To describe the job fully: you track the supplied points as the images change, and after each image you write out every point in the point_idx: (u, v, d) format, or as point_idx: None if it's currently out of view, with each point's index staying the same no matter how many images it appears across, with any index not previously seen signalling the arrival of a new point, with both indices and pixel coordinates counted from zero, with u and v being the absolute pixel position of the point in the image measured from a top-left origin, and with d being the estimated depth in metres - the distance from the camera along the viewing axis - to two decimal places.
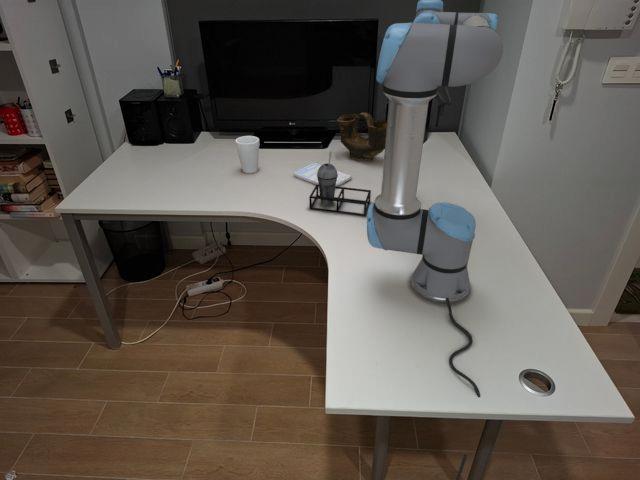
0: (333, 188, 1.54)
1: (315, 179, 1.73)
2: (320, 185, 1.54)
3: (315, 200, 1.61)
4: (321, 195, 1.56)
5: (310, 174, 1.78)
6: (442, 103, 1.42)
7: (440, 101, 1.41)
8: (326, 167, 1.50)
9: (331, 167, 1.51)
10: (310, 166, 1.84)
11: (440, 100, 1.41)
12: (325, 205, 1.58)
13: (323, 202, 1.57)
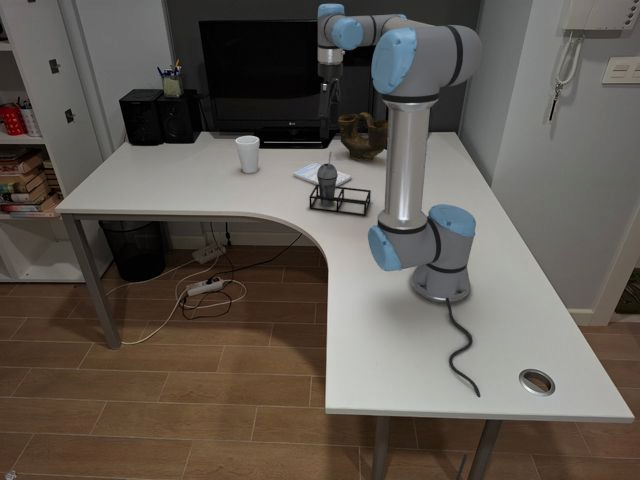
0: (333, 188, 1.54)
1: (315, 179, 1.73)
2: (320, 185, 1.54)
3: (315, 200, 1.61)
4: (321, 195, 1.56)
5: (310, 174, 1.78)
6: None
7: None
8: (326, 167, 1.50)
9: (331, 167, 1.51)
10: (310, 166, 1.84)
11: None
12: (325, 205, 1.58)
13: (323, 202, 1.57)
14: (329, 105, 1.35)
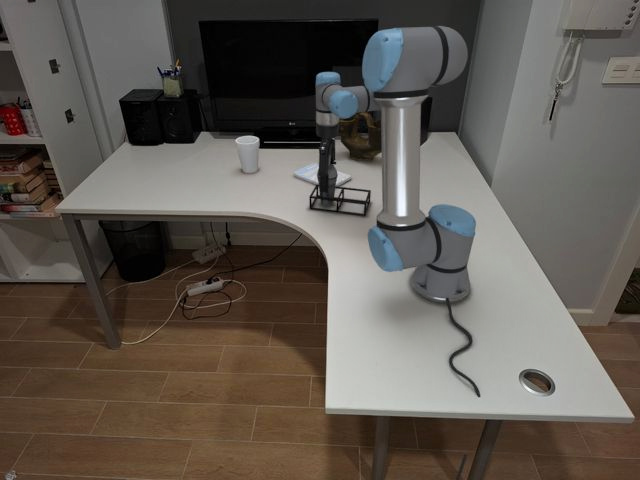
0: (333, 188, 1.54)
1: (315, 179, 1.73)
2: None
3: (315, 200, 1.61)
4: (321, 195, 1.56)
5: (310, 174, 1.78)
6: None
7: None
8: None
9: (331, 167, 1.51)
10: (310, 166, 1.84)
11: None
12: (325, 205, 1.58)
13: (323, 202, 1.57)
14: (328, 163, 1.47)
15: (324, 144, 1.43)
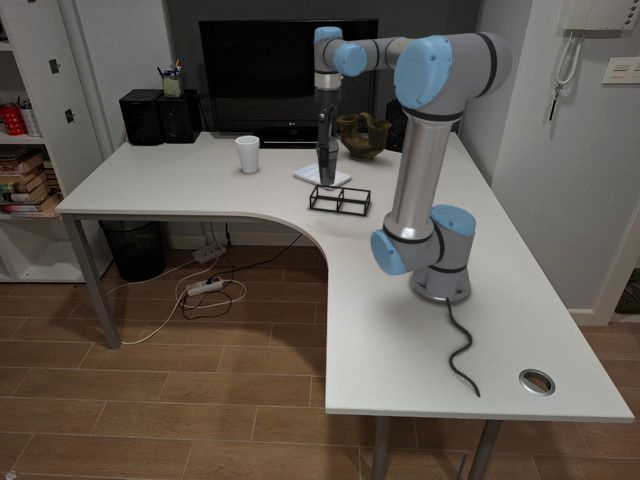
0: (334, 163, 1.37)
1: (315, 179, 1.73)
2: (319, 160, 1.37)
3: (315, 200, 1.61)
4: (321, 171, 1.39)
5: (310, 174, 1.78)
6: None
7: None
8: None
9: (332, 139, 1.33)
10: (310, 166, 1.84)
11: None
12: (325, 183, 1.40)
13: (323, 179, 1.40)
14: (328, 133, 1.30)
15: (324, 111, 1.26)
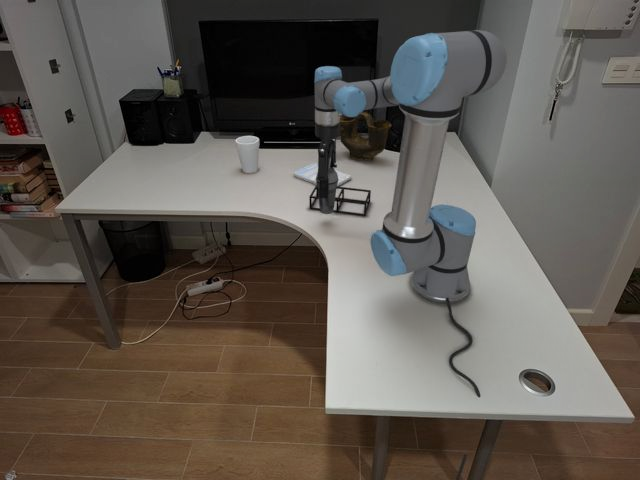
0: (333, 193, 1.42)
1: (315, 179, 1.73)
2: (319, 190, 1.41)
3: (315, 200, 1.61)
4: (320, 201, 1.43)
5: (310, 174, 1.78)
6: None
7: None
8: None
9: (331, 171, 1.38)
10: (310, 166, 1.84)
11: None
12: (325, 212, 1.45)
13: (322, 208, 1.44)
14: (328, 166, 1.34)
15: (324, 146, 1.30)
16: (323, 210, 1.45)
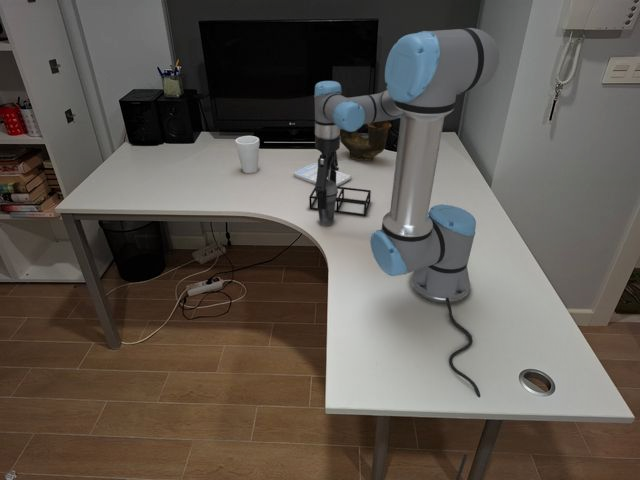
0: (333, 205, 1.44)
1: (315, 179, 1.73)
2: None
3: (315, 200, 1.61)
4: (320, 212, 1.46)
5: (310, 174, 1.78)
6: None
7: None
8: None
9: (331, 183, 1.40)
10: (310, 166, 1.84)
11: None
12: (324, 223, 1.47)
13: (322, 220, 1.47)
14: (326, 178, 1.34)
15: None
16: (323, 221, 1.47)
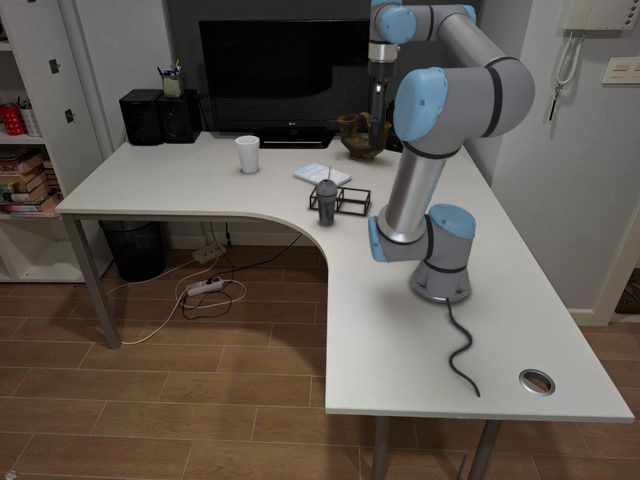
0: (333, 205, 1.44)
1: (315, 179, 1.73)
2: (319, 202, 1.43)
3: (315, 200, 1.61)
4: (320, 212, 1.46)
5: (310, 174, 1.78)
6: None
7: None
8: (325, 183, 1.40)
9: (331, 183, 1.40)
10: (310, 166, 1.84)
11: None
12: (324, 223, 1.47)
13: (322, 220, 1.47)
14: (382, 109, 1.18)
15: None
16: (323, 221, 1.47)
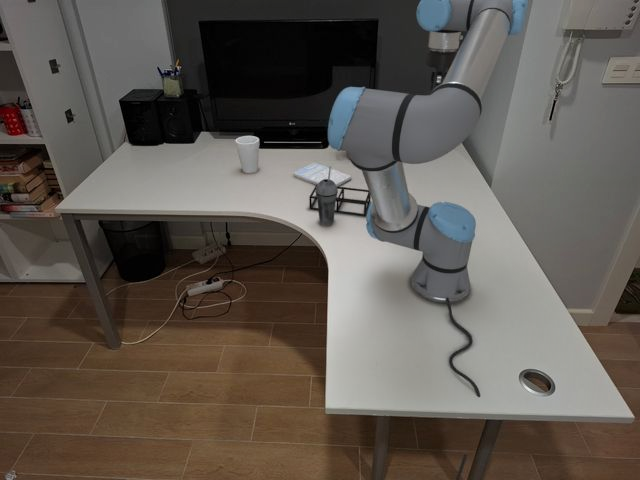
0: (333, 205, 1.44)
1: (315, 179, 1.73)
2: (319, 202, 1.43)
3: (315, 200, 1.61)
4: (320, 212, 1.46)
5: (310, 174, 1.78)
6: None
7: None
8: (325, 183, 1.40)
9: (331, 183, 1.40)
10: (310, 166, 1.84)
11: None
12: (324, 223, 1.47)
13: (322, 220, 1.47)
14: None
15: None
16: (323, 221, 1.47)
